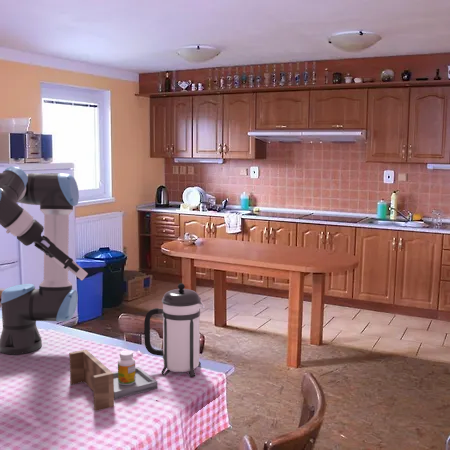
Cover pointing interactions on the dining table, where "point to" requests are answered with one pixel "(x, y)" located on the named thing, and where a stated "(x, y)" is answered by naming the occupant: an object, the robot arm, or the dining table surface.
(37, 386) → the dining table surface
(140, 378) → the tray
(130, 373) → the supplement bottle
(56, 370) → the dining table surface
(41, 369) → the dining table surface
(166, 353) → the coffee press
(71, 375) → the alcove
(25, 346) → the robot arm
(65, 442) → the dining table surface
